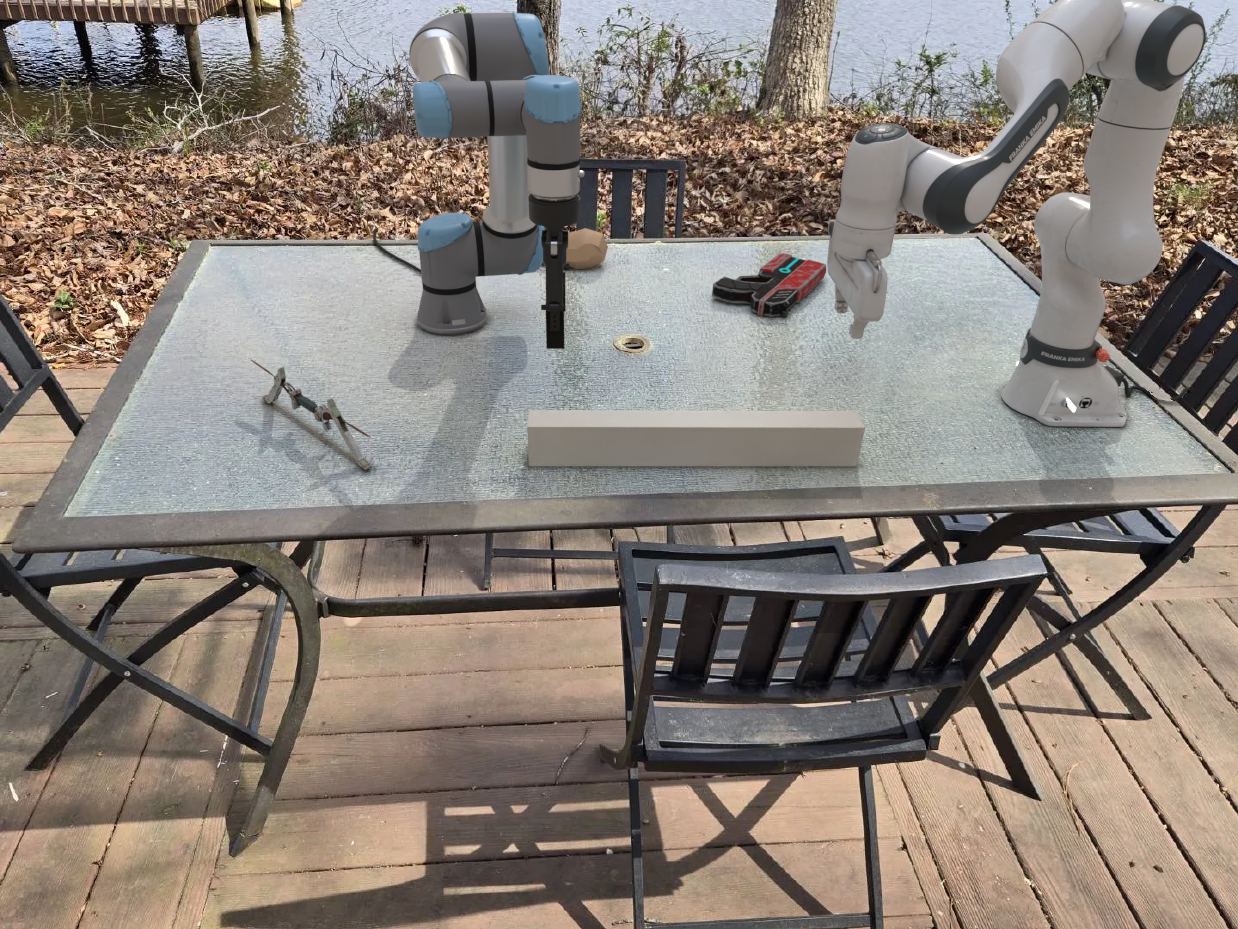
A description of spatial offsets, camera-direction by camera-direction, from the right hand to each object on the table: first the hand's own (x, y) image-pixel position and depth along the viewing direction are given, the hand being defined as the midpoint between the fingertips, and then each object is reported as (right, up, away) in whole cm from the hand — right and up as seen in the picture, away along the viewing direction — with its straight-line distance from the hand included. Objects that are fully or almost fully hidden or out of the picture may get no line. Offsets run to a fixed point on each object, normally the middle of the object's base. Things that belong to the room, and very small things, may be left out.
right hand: (847, 323), depth 140 cm
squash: (-49, +30, +88) cm, 105 cm away
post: (-24, -21, +13) cm, 34 cm away
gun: (+1, +20, +77) cm, 79 cm away
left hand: (-46, -1, -1) cm, 46 cm away
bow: (-91, -17, +17) cm, 94 cm away
